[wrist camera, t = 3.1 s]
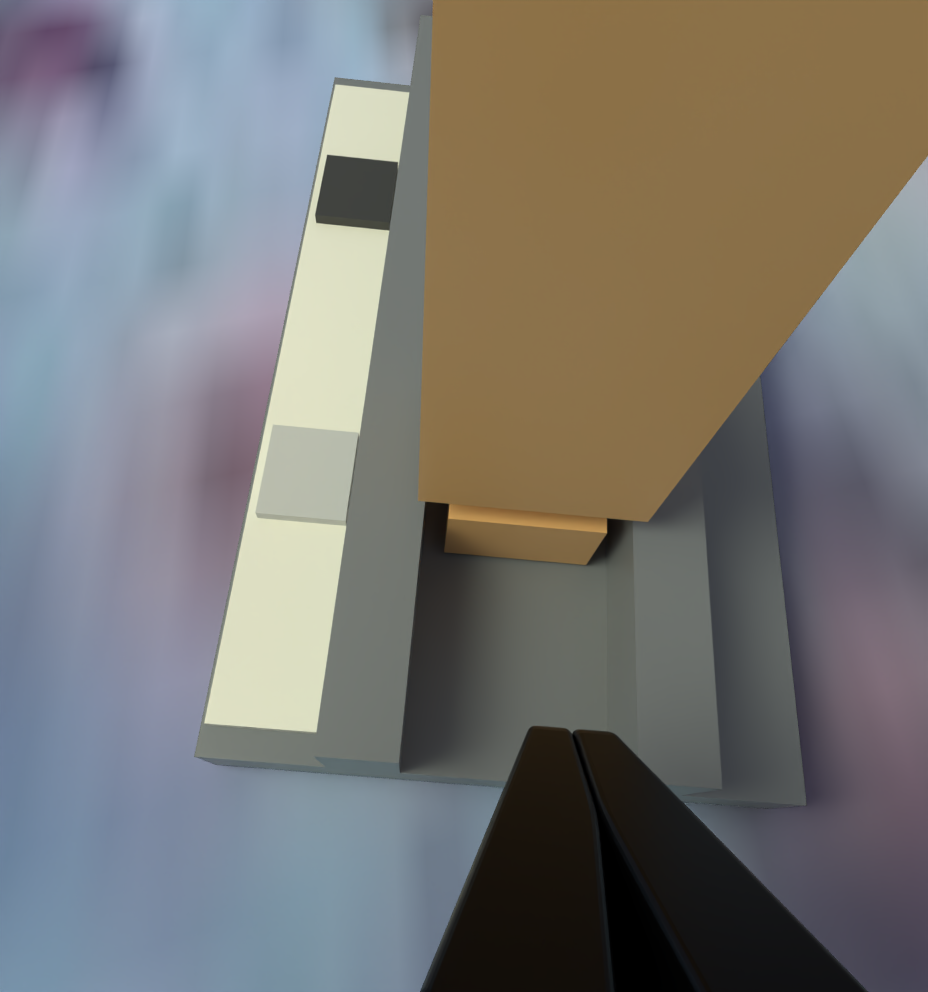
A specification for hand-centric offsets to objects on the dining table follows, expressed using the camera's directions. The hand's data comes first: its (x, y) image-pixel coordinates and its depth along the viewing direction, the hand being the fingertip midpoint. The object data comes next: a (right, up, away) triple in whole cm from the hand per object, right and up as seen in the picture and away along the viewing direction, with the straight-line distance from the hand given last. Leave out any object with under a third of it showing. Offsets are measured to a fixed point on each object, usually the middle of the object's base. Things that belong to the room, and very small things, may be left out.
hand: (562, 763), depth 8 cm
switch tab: (0, +3, +7) cm, 7 cm away
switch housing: (0, +5, +9) cm, 11 cm away
